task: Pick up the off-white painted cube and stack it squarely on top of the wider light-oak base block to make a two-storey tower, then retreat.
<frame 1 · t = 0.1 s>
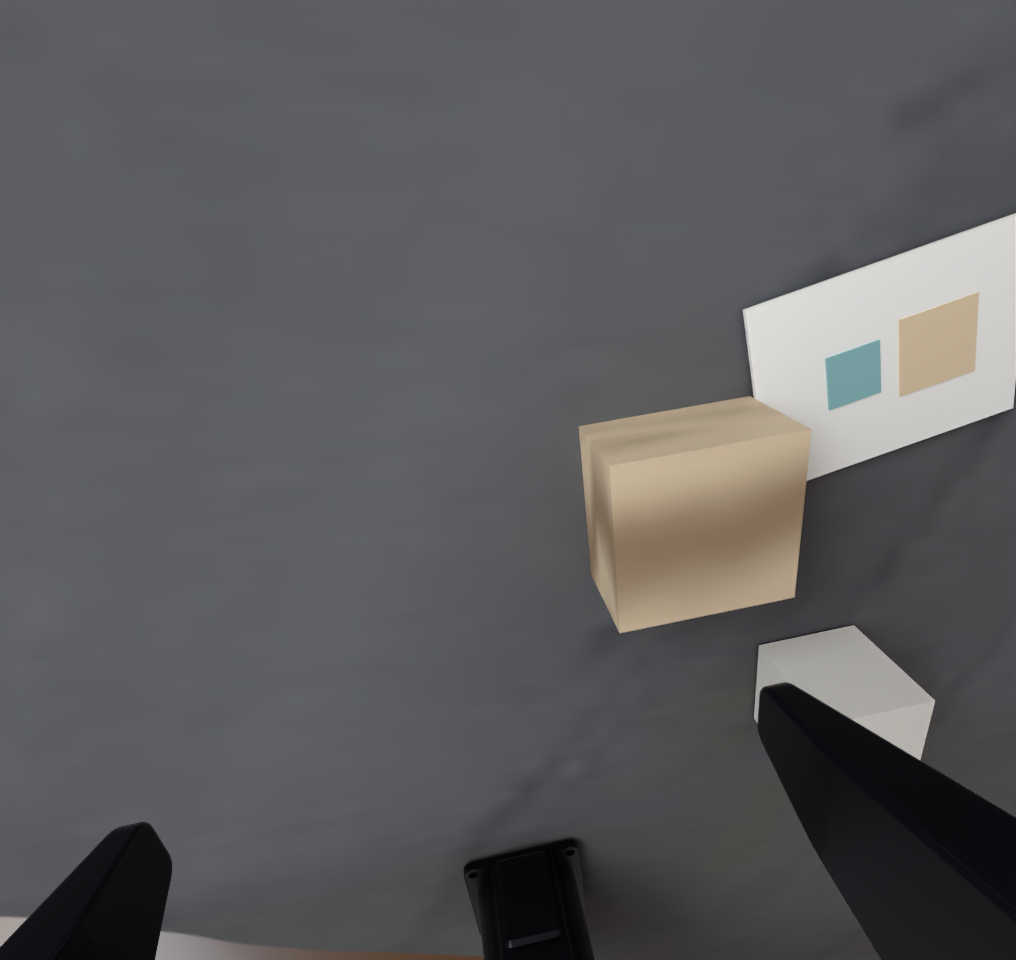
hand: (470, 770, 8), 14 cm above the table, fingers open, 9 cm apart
instruction sheet: (886, 361, 23), on the table
white cube: (802, 673, 30), on the table
oak base: (666, 489, 24), on the table
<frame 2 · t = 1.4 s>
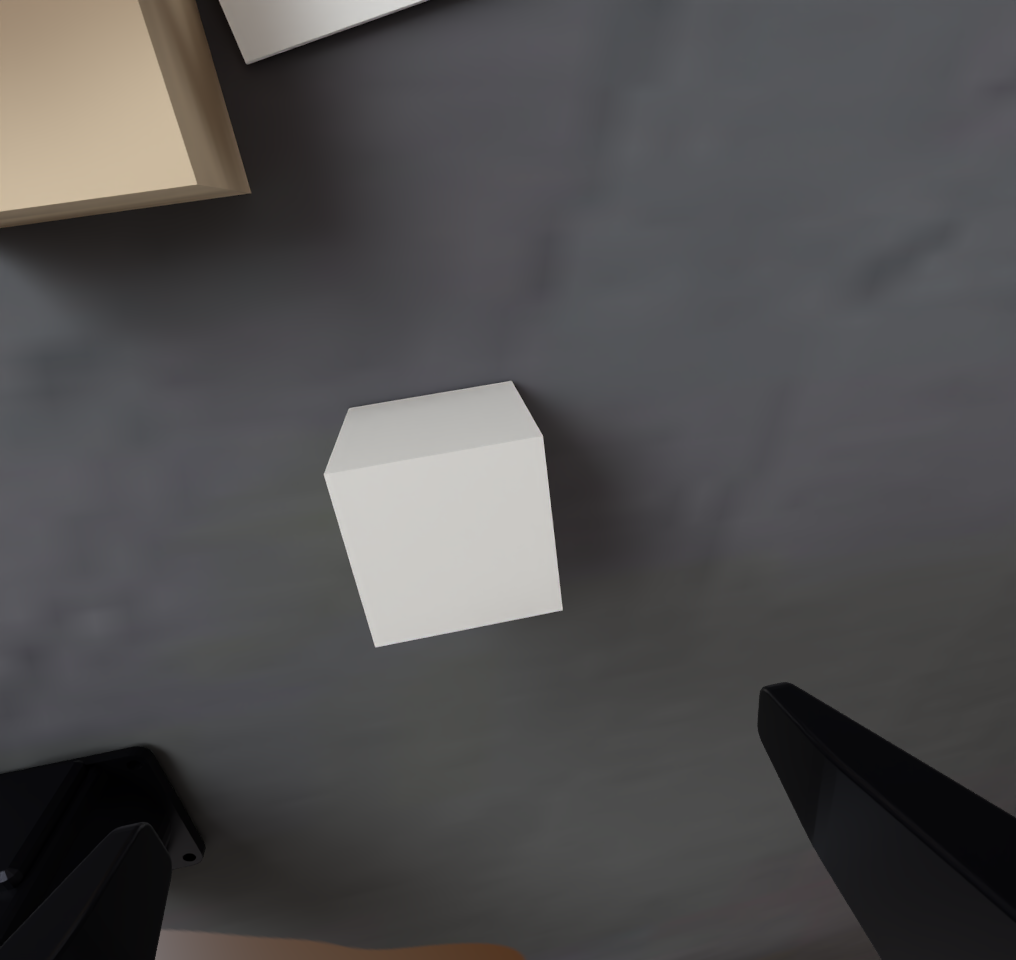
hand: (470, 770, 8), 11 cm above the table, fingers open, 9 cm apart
white cube: (445, 468, 19), on the table
oak base: (46, 44, 13), on the table
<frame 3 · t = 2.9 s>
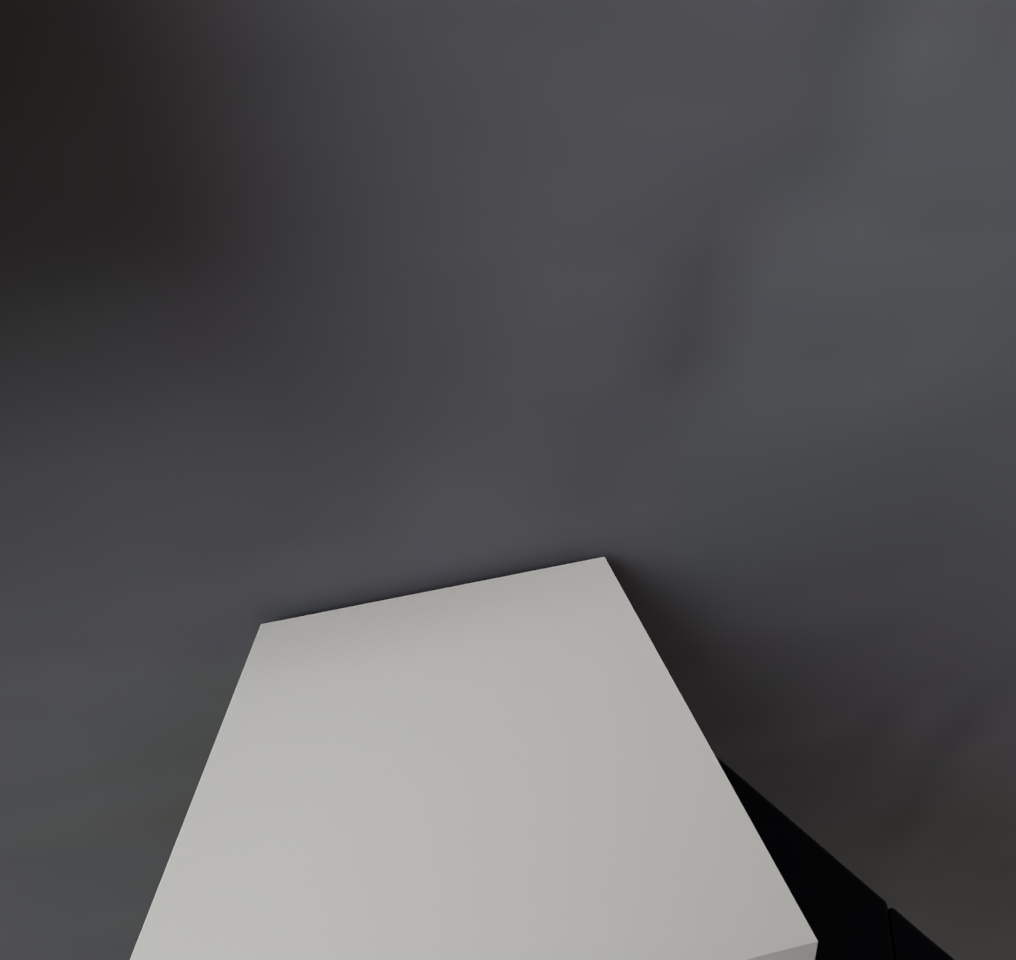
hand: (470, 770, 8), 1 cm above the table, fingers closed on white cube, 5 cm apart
white cube: (465, 714, 9), on the table, touching gripper
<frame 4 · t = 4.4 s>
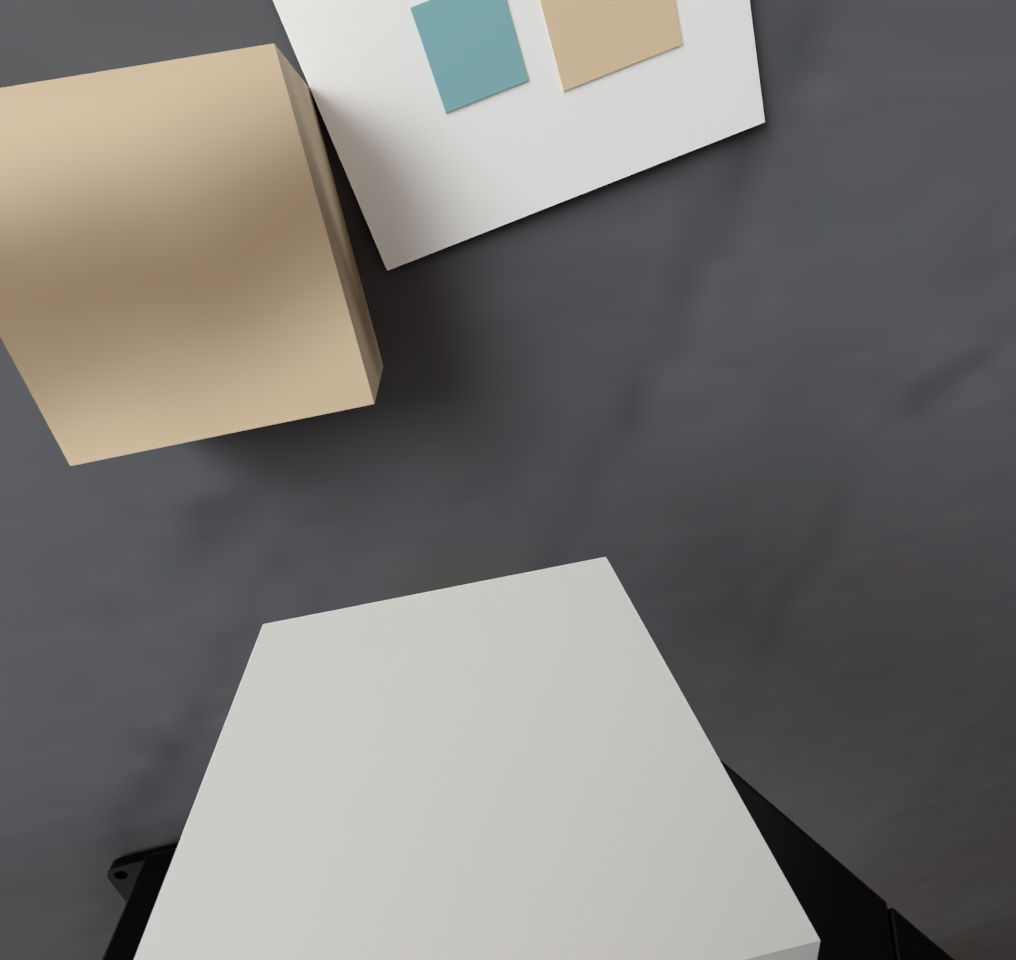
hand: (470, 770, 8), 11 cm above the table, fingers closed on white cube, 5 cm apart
instruction sheet: (527, 25, 14), on the table
white cube: (466, 714, 9), point 10 cm above the table, touching gripper
oak base: (221, 265, 15), on the table
when the fingers open (6 cm above the table, at t = 6.2 s): white cube drops 1 cm, resting on oak base.
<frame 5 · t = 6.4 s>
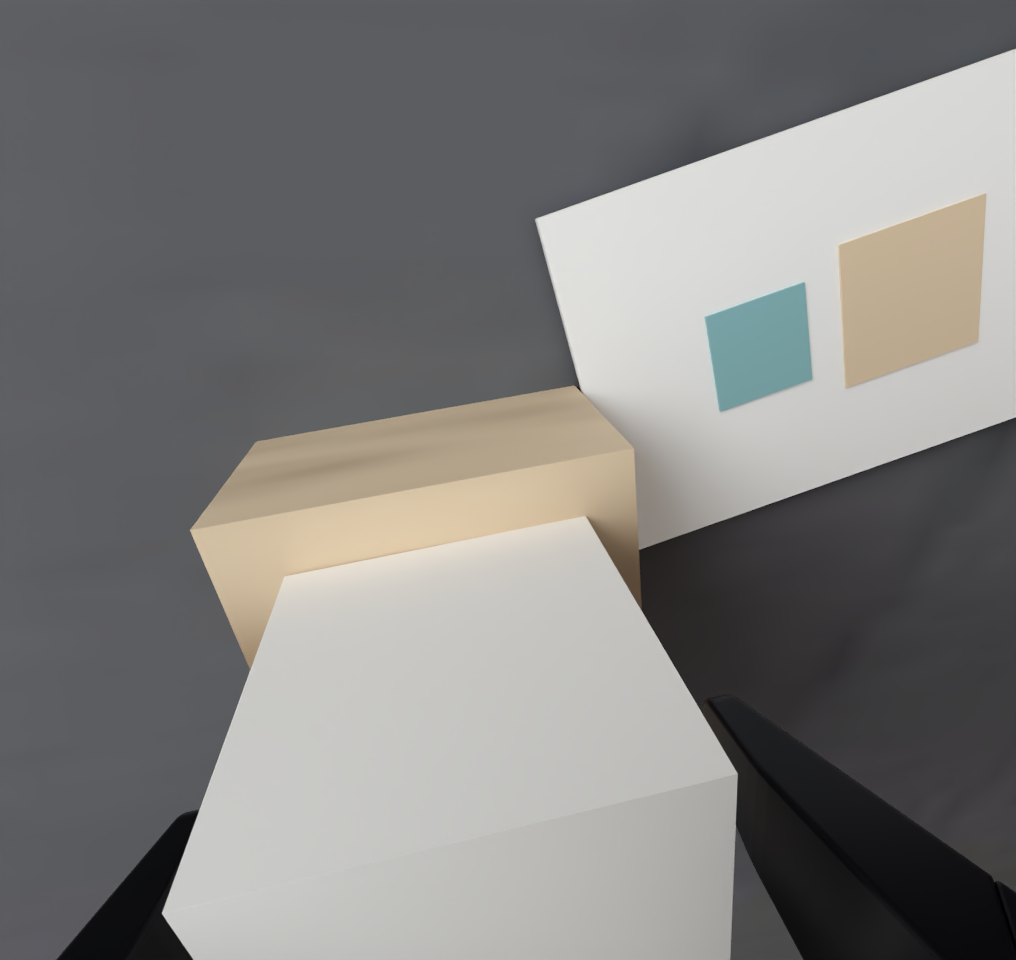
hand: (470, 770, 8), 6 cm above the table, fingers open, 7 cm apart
instruction sheet: (819, 324, 13), on the table
white cube: (464, 661, 10), point 4 cm above the table, touching oak base
oak base: (447, 546, 14), on the table, touching white cube
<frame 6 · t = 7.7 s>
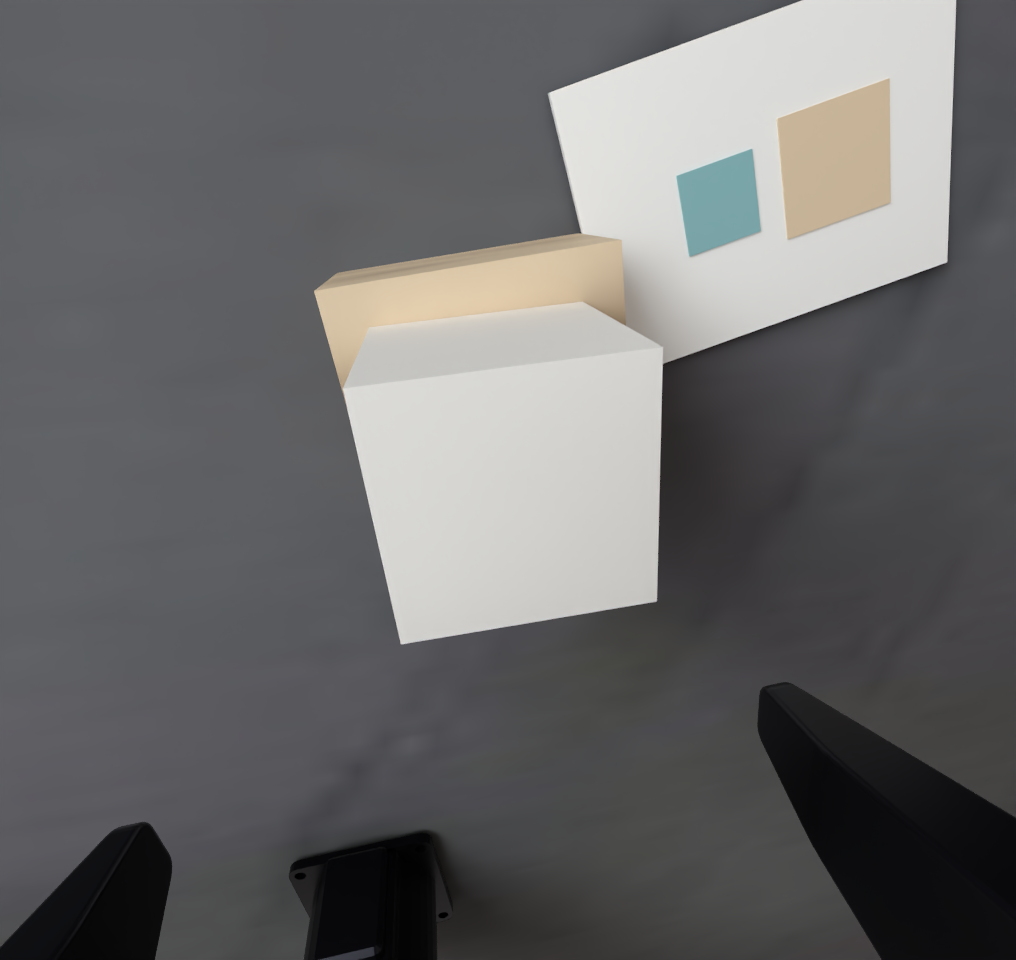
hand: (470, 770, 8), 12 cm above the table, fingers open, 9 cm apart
instruction sheet: (765, 186, 17), on the table
white cube: (489, 415, 14), point 4 cm above the table
oak base: (479, 371, 18), on the table
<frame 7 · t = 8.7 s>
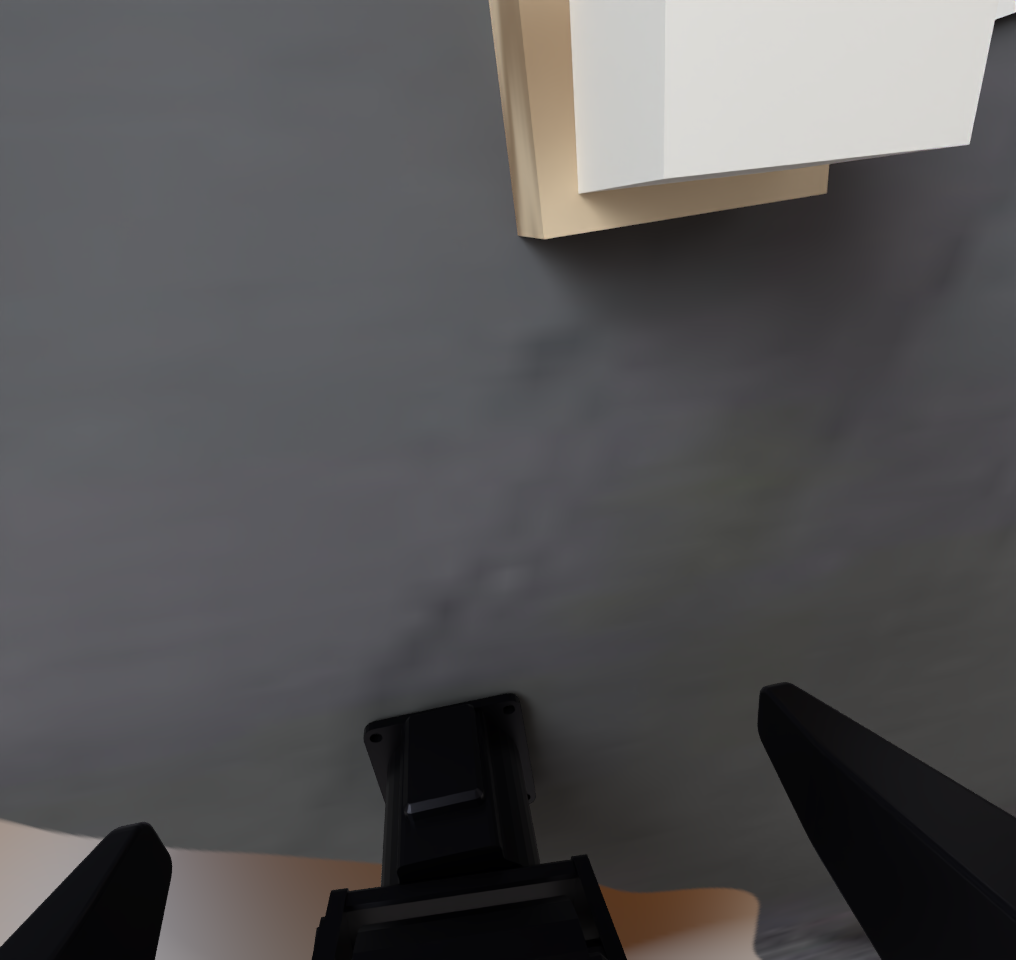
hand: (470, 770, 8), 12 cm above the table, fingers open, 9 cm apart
white cube: (686, 50, 12), point 4 cm above the table, touching oak base
oak base: (625, 78, 16), on the table, touching white cube
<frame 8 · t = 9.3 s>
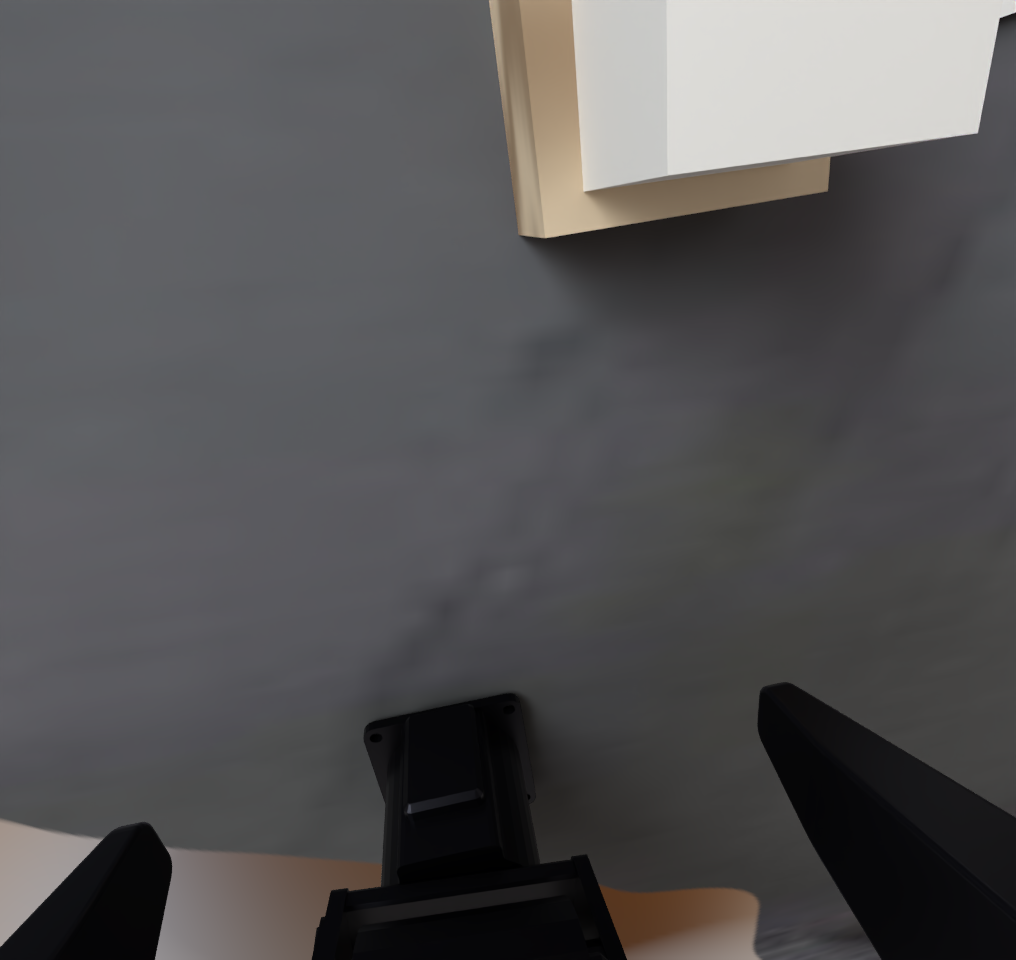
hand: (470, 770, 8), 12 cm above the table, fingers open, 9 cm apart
white cube: (689, 45, 12), point 4 cm above the table
oak base: (625, 77, 16), on the table
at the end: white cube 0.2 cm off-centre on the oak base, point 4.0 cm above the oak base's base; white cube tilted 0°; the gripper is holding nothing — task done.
